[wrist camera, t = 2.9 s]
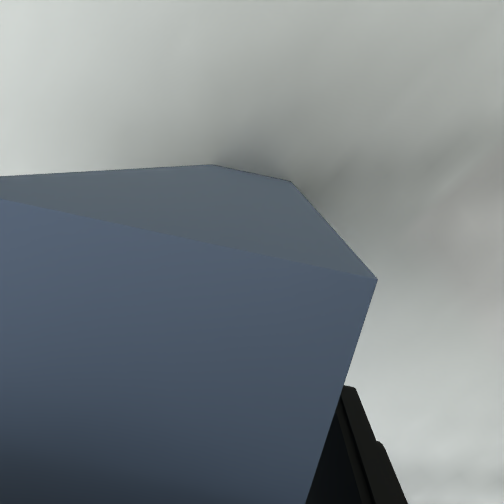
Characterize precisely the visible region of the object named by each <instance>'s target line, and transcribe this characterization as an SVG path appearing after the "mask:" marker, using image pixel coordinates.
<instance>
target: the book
mask: <svg viewBox="0 0 504 504" xmlns="http://www.w3.org/2000/svg"><path fill="white" fill-rule="evenodd" d="M377 280H378V279H377V278H376V277H375V276H374V274H373V273H372V272H371V271H370V270H369V269H368V268H367V267H366V265H365V264H364V263H363V262H362V261H361V260H360V259H359V258H358V256H357V255H356V254H355V253H354V252H353V251H352V250H351V249H350V247H349V246H348V245H347V244H346V243H345V242H344V241H343V240H342V238H341V237H340V236H339V235H338V234H337V233H336V232H335V231H334V229H333V228H332V227H331V226H330V225H329V224H328V223H327V222H326V220H325V219H324V218H323V217H322V216H321V215H320V214H319V213H318V211H317V210H316V209H315V208H314V207H313V206H312V205H311V204H310V202H309V201H308V200H307V199H306V198H305V197H304V196H303V195H302V194H301V192H300V191H299V190H298V189H297V188H296V187H295V186H294V185H293V183H292V182H291V181H286V180H282V179H277V178H272V177H268V176H263V175H258V174H254V173H249V172H244V171H240V170H235V169H230V168H225V167H221V166H216V165H195V166H177V167H159V168H141V169H123V170H106V171H88V172H70V173H52V174H34V175H17V176H0V504H305V502H306V499H307V496H308V493H309V490H310V487H311V484H312V481H313V478H314V475H315V472H316V468H317V465H318V462H319V459H320V456H321V453H322V450H323V447H324V444H325V441H326V438H327V435H328V431H329V428H330V425H331V422H332V419H333V416H334V413H335V410H336V407H337V404H338V401H339V397H340V394H341V391H342V388H343V385H344V382H345V379H346V376H347V373H348V370H349V367H350V364H351V360H352V357H353V354H354V351H355V348H356V345H357V342H358V339H359V336H360V333H361V330H362V327H363V323H364V320H365V317H366V314H367V311H368V308H369V305H370V302H371V299H372V296H373V293H374V290H375V286H376V283H377Z"/></svg>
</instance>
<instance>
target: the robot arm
mask: <svg viewBox="0 0 504 504" xmlns="http://www.w3.org/2000/svg"><path fill="white" fill-rule="evenodd" d="M307 504H408V503H407V501H406V498H405V496H404V493H403V491H402V489H401V486H400V484H399V481H398V479H397V477H396V474H395V472H394V469H393V467H392V464H391V462H390V460H389V457H388V455H387V452H386V450H385V448H384V446H383V444H381V443H380V442H379V441H376V439H375V436H374V434H373V431H372V429H371V426H370V424H369V421H368V418H367V416H366V413H365V411H364V408H363V406H362V403H361V401H360V398H359V396H358V393H357V391H356V389H355V388H354V387H350V386H345V385H343V388H342V391H341V394H340V397H339V401H338V404H337V407H336V410H335V413H334V416H333V419H332V422H331V425H330V428H329V431H328V435H327V438H326V441H325V444H324V447H323V450H322V453H321V456H320V459H319V462H318V465H317V468H316V472H315V475H314V478H313V481H312V484H311V487H310V490H309V493H308V496H307Z"/></svg>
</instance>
